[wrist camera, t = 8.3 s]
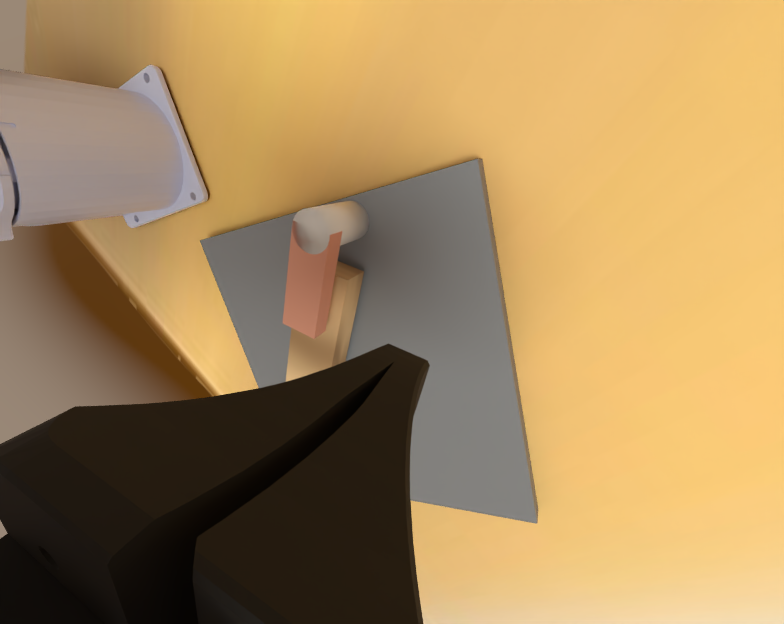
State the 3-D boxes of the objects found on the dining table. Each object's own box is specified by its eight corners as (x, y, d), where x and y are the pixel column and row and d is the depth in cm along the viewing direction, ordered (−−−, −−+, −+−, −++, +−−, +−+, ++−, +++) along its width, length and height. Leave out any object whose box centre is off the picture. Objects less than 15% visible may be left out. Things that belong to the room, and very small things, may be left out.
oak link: (335, 439, 25) (308, 472, 22) (290, 413, 26) (259, 441, 23) (372, 274, 19) (340, 293, 16) (310, 249, 20) (271, 263, 17)
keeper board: (302, 470, 30) (264, 515, 26) (212, 238, 24) (146, 252, 21) (538, 509, 21) (532, 585, 17) (482, 159, 16) (455, 157, 12)
